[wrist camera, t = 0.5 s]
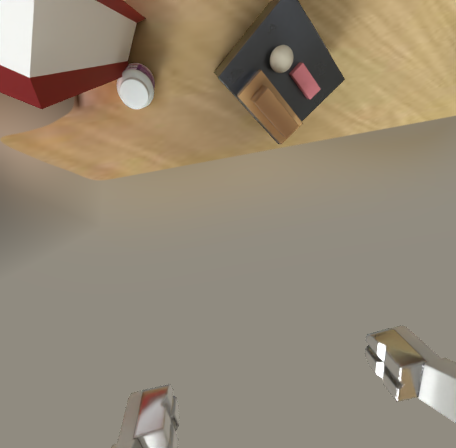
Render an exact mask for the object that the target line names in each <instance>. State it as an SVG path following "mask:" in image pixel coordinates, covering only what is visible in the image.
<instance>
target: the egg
mask: <svg viewBox="0 0 456 448" xmlns="http://www.w3.org/2000/svg"><path fill="white" fill-rule="evenodd" d="M293 58H294V57H293V52H292V50H291V48H290V47H288V46H286V45H280V46H277V47H276V48H275V49H274V50H273V51H272V53H271V55H270V66H271V68H272V69H273V70H274V71H275V72H277V73H284V72H286V71H287V70H288V69H289V68H290V67H291V65H292V63H293Z"/></svg>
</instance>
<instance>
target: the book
mask: <svg viewBox="0 0 456 448" xmlns="http://www.w3.org/2000/svg"><path fill="white" fill-rule="evenodd" d="M144 19H146V18H145V17H143V16H142V15H141V14H139V13H138V12H137V11H136V10H134V9H133V8H132V7H130V6H129V5H128V4H127V3H125V2H124V1H123V0H0V92H1V93H3V94H6V95H8V96H11V97H13V98H16V99H18V100H21V101H23V102H25V103H28V104H31V105H33V106H35V107H38V108H40V109H43V108H46V107H48V106H50V105H53V104H56V103H58V102H61V101H63V100H66V99H68V98H71V97H73V96H76V95H78V94H81V93H83V92H86V91H88V90H91V89H93V88H96V87H98V86H101V85H103V84H106V83H108V82H111V81H113V80H116V79H118V78H121V77H122V72H123V71H124V69H125V68H126V67H127V66H128V65H129V63H128V58H129V53H130V49H131V45H132V41H133V36H134V32H135V28H136V24H137V23H138V22H140V21H142V20H144Z"/></svg>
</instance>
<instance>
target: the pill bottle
mask: <svg viewBox="0 0 456 448" xmlns="http://www.w3.org/2000/svg"><path fill="white" fill-rule="evenodd" d="M154 87H155V81H154V77H153V75H152V73H151V71H150V70H149V69H148V68H147V67H146V66H144V65H143V64H140V63H131V64H129V65H128V66H127V67H126V68H125V69H124V71H123V72H122V77H121V78H118V80H117V91H118V94H119V96H120V98H121V99H122V101H123V102H124V103H125V105H127V106H128V107H130V108H132V109H141V108H144V107H146V106H148V105H149V104H150V103H151V101H152V99H153V97H154Z"/></svg>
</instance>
